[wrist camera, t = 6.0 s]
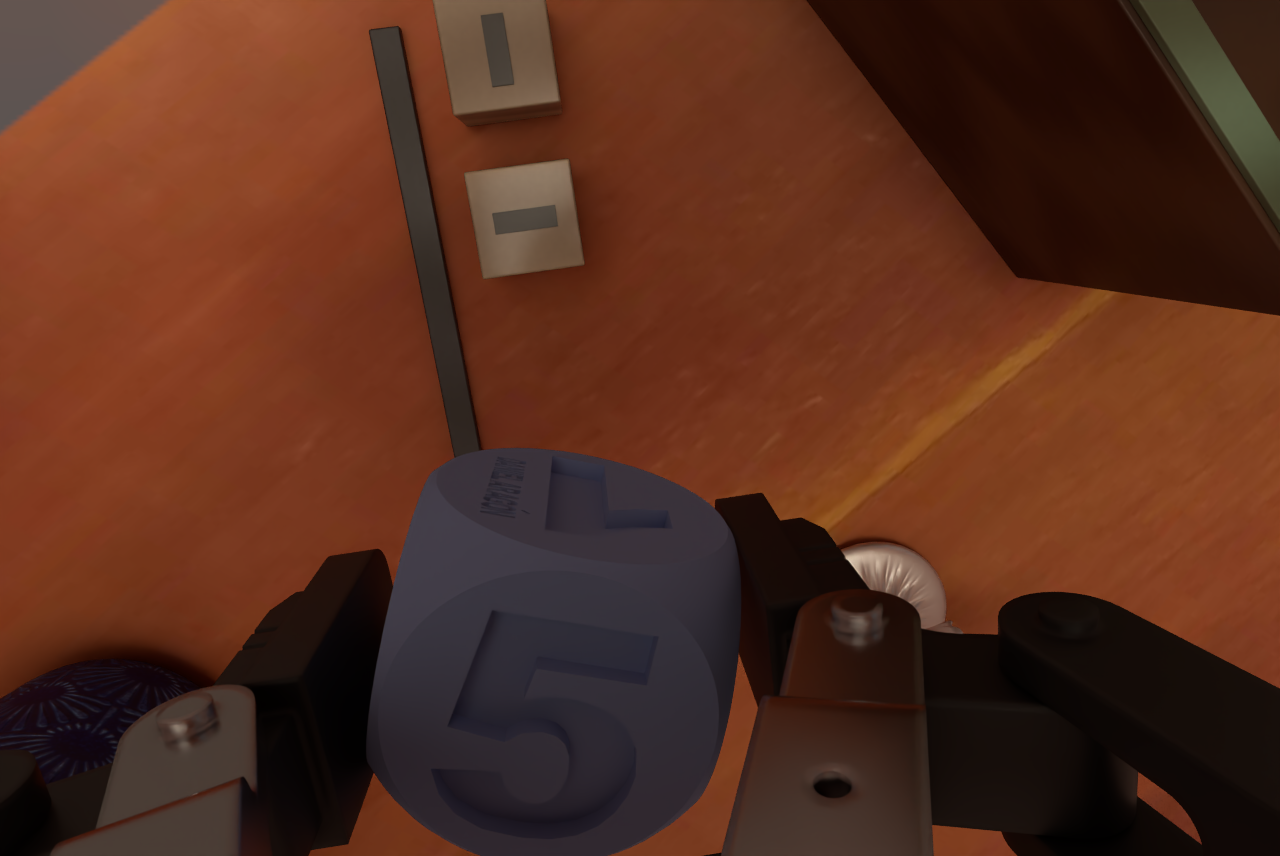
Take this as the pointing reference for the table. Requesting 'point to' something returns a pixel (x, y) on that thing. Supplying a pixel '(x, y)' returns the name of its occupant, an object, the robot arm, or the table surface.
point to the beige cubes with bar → (499, 198)
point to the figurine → (903, 579)
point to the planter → (83, 712)
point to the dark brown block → (1095, 133)
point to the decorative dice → (555, 654)
